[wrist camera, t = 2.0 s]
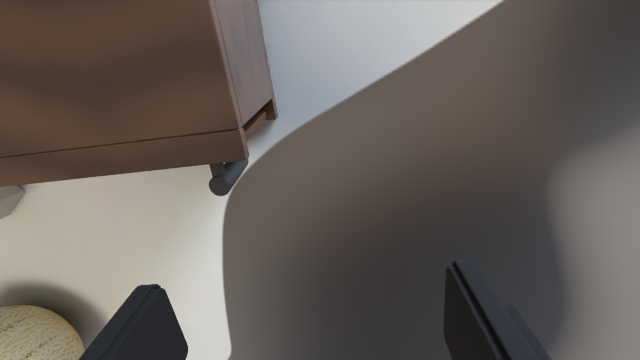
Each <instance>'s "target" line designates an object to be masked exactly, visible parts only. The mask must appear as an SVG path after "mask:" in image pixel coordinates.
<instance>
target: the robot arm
mask: <svg viewBox="0 0 640 360" xmlns="http://www.w3.org/2000/svg"><path fill="white" fill-rule="evenodd" d="M444 337H445V341H446V344H447V346H448V349H449V352H450V354H451V357H452V360H551V358H550V357H549V355H548V354H547V353H546V351H545V350H544V348H543V347H542V345H541V344H540V342H539V341H538V340H537V338H536V337H535V335H534V334H533V332H532V331H531V329H530V328H529V327H528V325H527V324H526V322H525V321H524V319H523V318H522V317H521V315H520V314H519V312H518V311H517V310H516V308H515V307H514V306H512V305H511V304H502V303H501V302H500V300H499V298H498V297H497V295H496V294H495V292H494V291H493V289H492V287H491V286H490V284H489V283H488V281H487V280H486V278H485V277H484V275H483V274H482V272H481V271H480V269H479V268H478V266H477V264H476V263H475V262H474V261H473V260H467V261H454V262H453V263H452V266H451V267H447V268H446V284H445V308H444ZM187 353H188V345H187V343H186V340H185V338H184V335H183V333H182V330H181V328H180V325H179V323H178V320H177V318H176V316H175V313H174V311H173V308H172V306H171V303H170V301H169V298H168V296H167V293H166V291H165V290H164V289H163V288H161V287H160V286H159V285H158V284H152V285H140V286H138V287H136V288H135V290H134V291H133V292H132V293H131V295H130V296H129V297H128V298H127V300H126V301H125V302H124V303H123V304H122V306H121V307H120V308H119V309H118V311H117V312H116V313H115V314H114V316H113V317H112V318H111V319H110V321H109V322H108V323H107V324H106V326H105V327H104V328H103V329H102V331H101V332H100V333H99V334H98V336H97V337H96V338H95V339H94V341H93V342H92V343H91V344H90V346H89V347H88V348H87V349H86V351H85V352H84V353H83V354H82V356H81V357H80V358H79V359H78V360H185V359H186V357H187Z"/></svg>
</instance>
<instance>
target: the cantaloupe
mask: <svg viewBox="0 0 640 360" xmlns="http://www.w3.org/2000/svg"><path fill="white" fill-rule="evenodd" d="M84 352H85V347H84V344H83V342H82V340H81V338H80V336H79V334H78V332H77V331H76V330H75V329H74V328H73V327H72V326H71V325H70V324H69V323H68V322H67V321H66V320H65V319H64V318H63V317H61V316H60V315H58V314H56V313H55V312H53V311H51V310H48V309H44V308H41V307H37V306H33V305H17V306H5V307H0V360H78V359H79V358H80V357H81V356H82V354H83V353H84Z"/></svg>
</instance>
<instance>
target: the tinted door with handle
mask: <svg viewBox="0 0 640 360" xmlns="http://www.w3.org/2000/svg"><path fill="white" fill-rule="evenodd" d="M266 118H267V116H266V112H265V111H264V112H258V113H256V114H255V115H254V116H252V117H251V118H250V119H249V120H248V121H247V122H246V123H245V124H244V125H243V126H242V127H243V130H244V135H245V139H246V142H247V141H248V140H249V138H250V137H251V136H252V135H253V134H254V132H255V131H256V130H257V129H258V128H259V127H260V125H261V124H262V123H263V122H264V121H265V120H266ZM209 165H210V169H211V172H212V176H213V178H212V179H211V180H210V182H209V188H210V190H211V191H212V192H213V193H214V194H215V195H218V196H224V195H226V194H228V193H229V191H230V190H231V188H232V187H233V185H234V184H235V182H236V181H237V180H238V178H239V177H240V175H241V174H242V172H243V171H244V169H245V168H246V166H247V165H248V158H247V159H246V160H243V161H234V162H226V163H225V164H223V163H216V164H209Z"/></svg>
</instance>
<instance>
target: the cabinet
mask: <svg viewBox="0 0 640 360" xmlns="http://www.w3.org/2000/svg"><path fill="white" fill-rule="evenodd" d="M273 96H274V93H273V88H272V82H271V77H270V71H269V65H268V60H267V54H266V49H265V43H264V38H263V32H262V27H261V21H260V15H259V10H258V4H257V0H0V187H6V186H15V185H25V184H34V183H43V182H52V181H61V180H70V179H79V178H88V177H97V176H106V175H116V174H125V173H134V172H143V171H152V170H161V169H170V168H179V167H188V166H198V165H207V164H216V163H225V162H234V161H243V160H246V159H247V158H248V157H249V152H248V148H247V143H246V139H245V135H244V130H243V127H242V126H243V125H244V124H245V123H246V122H247V121H248V120H249V119H250V118H251V117H252V116H254V115H255V114H256V113H258V112H264V111H265V112H266V116H267V118H266V120H273V119H276V118H277V117H278V115H277V110H276V104H275V98H274V97H273Z"/></svg>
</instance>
